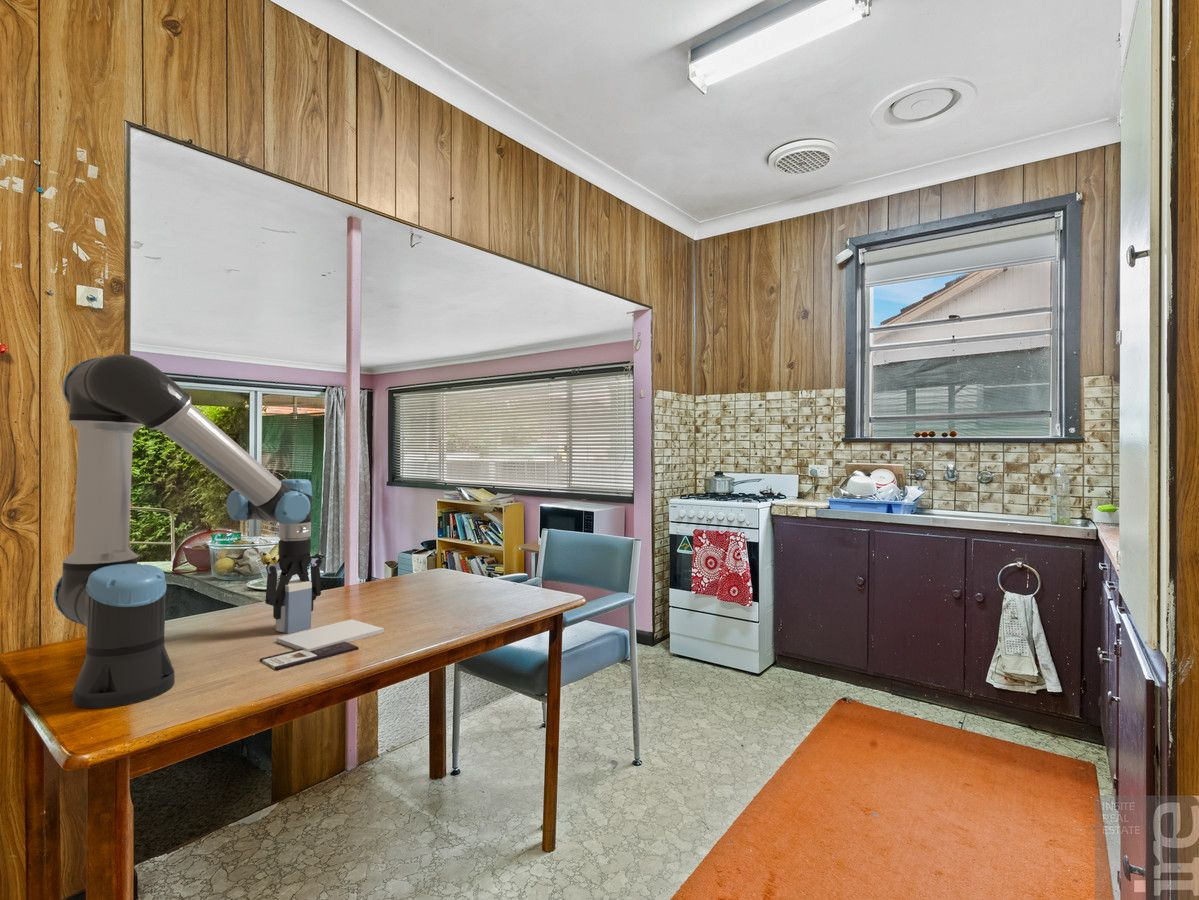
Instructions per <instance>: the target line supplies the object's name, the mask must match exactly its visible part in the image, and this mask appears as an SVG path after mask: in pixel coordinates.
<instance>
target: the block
mask: <svg viewBox="0 0 1199 900" xmlns="http://www.w3.org/2000/svg"><path fill="white" fill-rule="evenodd" d="M278 584H279V582H277V586H276V590H277V587H278ZM311 601H312V582H311V581H310V582H309V581H307V582H304V581H300V579H294V580H290V581H289V584H288V585H285V597H284V600H283V603H282V605H284V606H285V632H283V633H285V634H286V635H290V634H294V633H298V632H302V631H306V630H310V629H312V612H311Z"/></svg>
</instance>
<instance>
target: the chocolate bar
mask: <svg viewBox="0 0 1199 900" xmlns="http://www.w3.org/2000/svg"><path fill="white" fill-rule="evenodd" d="M359 648H360V647H359V646H357V645H355V644H352V643H351V642H348V643H347V642H341V643H338V644H334V645H330V646H327V647H323V648H320V649H316V650H312V651H309V652H308V651H306V650H303V649H293V650H289V651H286V652H281V653H277V654H273V655H270V656H269V655H268V656H267V657H266V656H265V657H261V658H259V661H260V662H262V663H263V664H265V665H267V666H268V667H270V668H272V669H274V670H276V671H277V672H278V671H282V670H286V669H289V668H294V667H297V666H300V665H305V664H309V663H314V662H316V661H321V660H324V659H327V658H332V657H335V656H338V655H344V654H346V653H351V652H355V651H358V650H359Z"/></svg>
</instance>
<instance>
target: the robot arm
mask: <svg viewBox="0 0 1199 900" xmlns="http://www.w3.org/2000/svg"><path fill="white" fill-rule="evenodd" d="M62 392H63V393H62V394H63V396H64V398H65V400H66V402H67V404H68V405H69V410H68V412H69V413H68V415H69V416H68V423H69V424H71V426H73V427H74V428H75V429H76V430H77V431H78V438H77V439H78V442H77V460H76V461H77V465H76V485H75V486H76V489H75V491H76V492H75V509H74V510H75V514H74V531H73V533H74V539H73V551H71V553H70V554H68V555H67V556H66V557H65V558H64V559H63V561H62V575H61V577H60V578H59V579H58V580H57V582H56V584H55V587H54V591H53V600H54V604H55V606H56V608H57V609H58V611H59V612H60V613H61V615H62V616H64V617H65V618H66V619H67V620H70V621H71V622H73V623H76V624H80V625H82V626H85V627H86V639H85V640H86V642H85V643H86V644H85V645H86V651H85V653H86V654H85V659H84V663H83V664H82V667H81V670H80V671H79V674H78V676H77V679H76V680H75V681H76V682H75V684H74V686H73V688H72V689H73V690H72V704H73V705H74V706H76V707H79V708H85V709H101V708H103V709H105V708H113V707H119V706H125V705H131V704H134V703H138V702H141V701H142V702H143V701H145V700H149V699H151V698H155V697H157V696H159V695H161V694H164V693H166V692H168V691H169V690H170V689H172V688H173V686H175V680H176V678H175V677H176V675H175V674H176V672H175V670H174V669H175V668H174V667H173V665H172V661H171V658H170V657H169V654H168V652H167V650H166V647H165V626H166V625H165V623H166V595H167V594H166V592H167V589H168V588H167V583H166V577H165V576H166V575H165V572H164V571H163V570H162V568H160V567H158V566H155V565H151V564H141V563H138V554H137V553H136V552H134V551H133V550H131V549H130V547H129V544H130V525H131V523H130V522H131V520H130V519H131V497H132V475H133V474H132V473H133V472H132V471H133V470H132V468H133V448H134V447H133V446H134V433H136V431H137V430H139V429H140V428H141V427H143V425H144V427H146V428H147V429H149V430H158V431H160V432H162V434H164V435H165V436H166V437H168V438H169V439H171V441H172V442H174V443H175V444H177V445H178V446H179V447H180V448H181V449H183V450H184V451H185V452H187V453H188V454H189V455H190V456H192V457H193V458H194V459H196V461H198V462H199V463H201V464H202V465H203V466H204V467H206V468H207V469H208V470H209V471H210V472H212V473H213V474H215V475H216V476H217V477H218V478H220V480H222V481H223V482H225V483H226V484H227V485H228V486H230V487H231V488H232V489H234V490H232V491H230V492H229V494H228V497H227V498H226V510H227V511H226V512H227V514H228V516H229V518H230V519H232V520H234V521H246V522H247V521H250V520H251V521H252V520H256V521H257V520H258V521H264V522H272V523H278V538H279V541H278V548H277V549H278V559H277V561H276V562H275V563H273V564H266V566H265V569H266V574H267V576H266V577H267V578H266V579H267V580H266V587H265V588H266V589H265V601H264V603H265V604H266V605H269V606H272V607H273V608H272V609H273V610H272V611H273V614H272V617H273V619H275V631H277V632H280V633H284V632H285V606H284V605H282V603H283V600H284V597H285V585H288V584H289V581H292V580H291V579H292V577H293V576H295V575H297V577H298V578H299V579H300V581H304V582H307V581H309V582H312V601H311V613H312V612H313V611H314V601H315V600H316V599H317V597H320V596H321V595H322V588H321V587H322V586H321V585H322V584H321V565H322V563H323V560H322V559H320V558H317V557H316V558H315V557H314V558H312V556H311V551H312V540H311V538H310V537H311V536H312V512H313V511H312V510H313V509H312V506H313V487H312V482H311V480H309V479H305V478H286V479H281V480H280V479H278V477H276V476H275V475H274V474H273V473H271V471H269V470H268V468H266V467H265V466H263V465H262V464H261V463H260V462H259V461H257V459H256V458H254V457H253V456H252V455H251V454H250V453H248V452H247V451H246V450H245V449H244V448H243V447H241V445H239V444H238V443H237V442H236V441H235V440H234V439H233V438H231V437H230V436H229V435H227V434H226V432H224V430H222V429H221V428H220V427H218V426H217V424H215V422H212V420H210V419H209V418H208V417H207V416H206V415H205V414H204V413H202V411H200V410H199V409H198V408H196V406H194V405H193V404H192V396H191V395H190V394H189V393H187V392H186V391H185V390H184V389H183V388H182V387H181V386H180V385H178V383H176V382H175V381H174V380H173V379H172V378H170V377H169V376H168V375H167V374H166V373H164V371H162V370H160V369H159V368H158V367H156V366H155V365H154V364H152V363H151V362H149V361H148V360H145V359H143V358H141V357H138V356H135V355H130V354H124V353H121V354H119V353H118V354H111V355H107V356H102V357H93V358H89V359H86V360H84V361H81V362H80V363H77V364H76V365H75V366H73V367H72V368H71V369H70V370H69V371H68V372H67V373H66V375H65V377H64V379H63V382H62ZM309 565H310V573H309V570H308V567H309ZM279 569H280V575H279V582H278V572H279ZM309 575H310V577H309ZM277 583H279V584H278V587H277V590H276V586H277Z"/></svg>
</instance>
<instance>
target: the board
mask: <svg viewBox="0 0 1199 900" xmlns="http://www.w3.org/2000/svg"><path fill="white" fill-rule="evenodd" d="M383 633H385V628H384V627H380V626H376V625H374V624H370V623H366V622H363V621H358V620H355V619H352V618H351V619H346V620H343V621H340V622H339V621H338V622H335V623H334V622H333V623H332V624H330V623H329V624H327V625H324V626H319V627H318V626H317V627H315V628H310V629H306V630H302V631H298V632H294V633H290V634H286V635H283V636H282V635H281V636H279V637H276V640H275V641H276V643H278V644H281V645H284V646H286V647H289V648H292V649H293V650H297V649H303V650H306V651H308V652H309V651H312V650H316V649H320V648H323V647H327V646H330V645H334V644H338V643H341V642H347V643H351V642H355V641H358V640H362V639H365V638H369V637H373V636H376V635H379V634H383Z"/></svg>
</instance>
